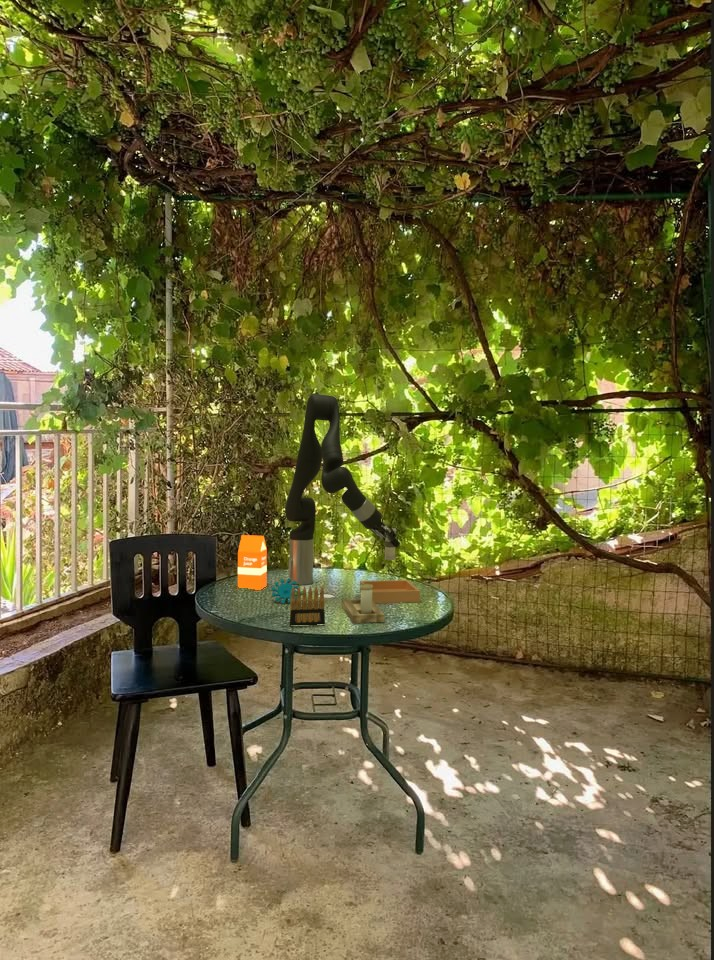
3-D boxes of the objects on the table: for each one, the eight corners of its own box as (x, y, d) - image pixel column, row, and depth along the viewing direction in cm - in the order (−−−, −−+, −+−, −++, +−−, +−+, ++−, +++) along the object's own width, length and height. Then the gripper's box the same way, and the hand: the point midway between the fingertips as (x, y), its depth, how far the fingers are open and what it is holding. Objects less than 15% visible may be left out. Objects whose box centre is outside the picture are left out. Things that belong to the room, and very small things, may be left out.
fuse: (361, 621, 219) (361, 586, 218) (358, 618, 222) (359, 583, 222) (373, 621, 219) (373, 586, 219) (370, 617, 223) (371, 583, 222)
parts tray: (369, 603, 241) (369, 592, 241) (359, 591, 259) (360, 581, 259) (420, 602, 245) (420, 590, 244) (407, 590, 262) (407, 580, 262)
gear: (268, 599, 239) (275, 575, 245) (268, 608, 243) (276, 584, 250) (299, 605, 238) (306, 580, 244) (300, 613, 242) (306, 589, 249)
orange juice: (260, 591, 257) (260, 537, 256) (237, 590, 259) (237, 536, 258) (266, 586, 265) (267, 534, 264) (244, 585, 267) (244, 533, 265)
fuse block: (352, 623, 216) (352, 615, 216) (341, 606, 237) (342, 599, 237) (384, 622, 218) (384, 614, 218) (371, 605, 238) (371, 598, 238)
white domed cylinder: (385, 560, 249) (386, 529, 248) (383, 558, 252) (383, 527, 252) (396, 559, 249) (397, 529, 249) (394, 558, 253) (394, 527, 252)
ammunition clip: (289, 626, 212) (290, 587, 211) (289, 625, 214) (289, 586, 213) (325, 625, 214) (325, 586, 213) (324, 623, 215) (324, 585, 215)
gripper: (383, 506, 240) (412, 539, 247) (362, 503, 252) (390, 534, 259) (369, 523, 238) (399, 556, 244) (349, 518, 250) (378, 549, 257)
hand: (394, 544), depth 252 cm, fingers closed on white domed cylinder, 3 cm apart
